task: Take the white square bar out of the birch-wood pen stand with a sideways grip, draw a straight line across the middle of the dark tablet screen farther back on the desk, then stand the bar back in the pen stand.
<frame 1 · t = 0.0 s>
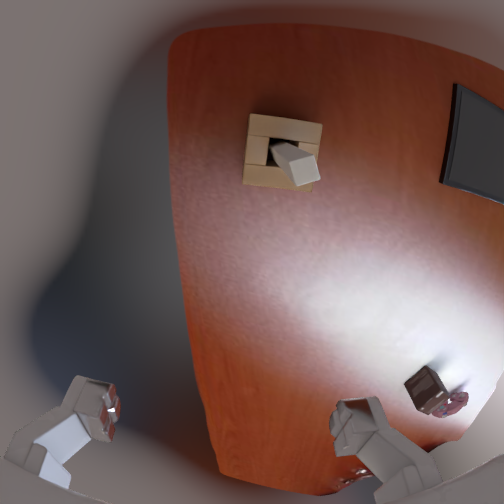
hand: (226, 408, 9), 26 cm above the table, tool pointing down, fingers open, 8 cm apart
tablet: (492, 152, 30), on the table
box: (420, 377, 49), on the table
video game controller: (446, 397, 54), on the table
pen stand: (276, 148, 31), on the table
white square bar: (286, 156, 24), in the pen stand
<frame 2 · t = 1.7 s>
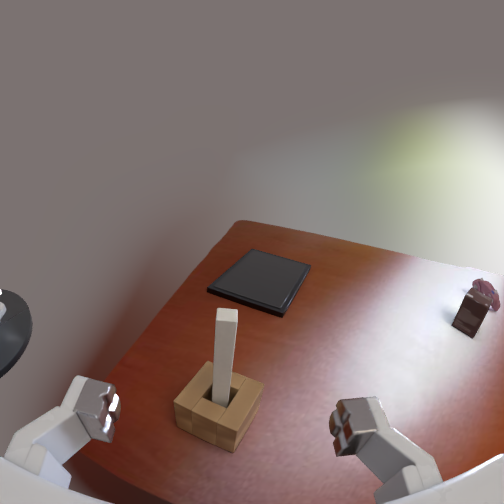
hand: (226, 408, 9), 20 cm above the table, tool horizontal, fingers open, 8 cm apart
tablet: (264, 279, 58), on the table
box: (464, 327, 48), on the table
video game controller: (482, 303, 58), on the table
pen stand: (218, 419, 29), on the table
white square bar: (221, 377, 26), in the pen stand
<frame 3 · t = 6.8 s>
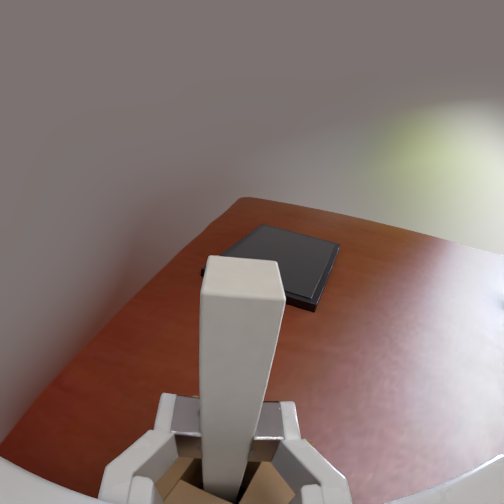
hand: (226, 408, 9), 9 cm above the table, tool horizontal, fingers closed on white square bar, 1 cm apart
tablet: (281, 260, 42), on the table
pen stand: (219, 498, 12), on the table
white square bar: (224, 447, 9), in the pen stand, touching gripper
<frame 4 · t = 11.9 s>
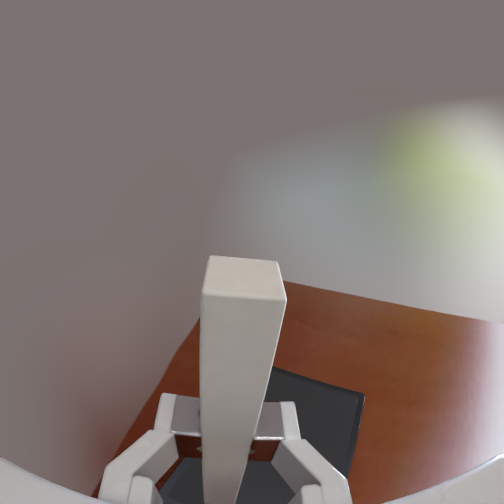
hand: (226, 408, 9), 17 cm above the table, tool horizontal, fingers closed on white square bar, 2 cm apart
tablet: (277, 451, 23), on the table
white square bar: (224, 447, 9), point 16 cm above the table, touching gripper
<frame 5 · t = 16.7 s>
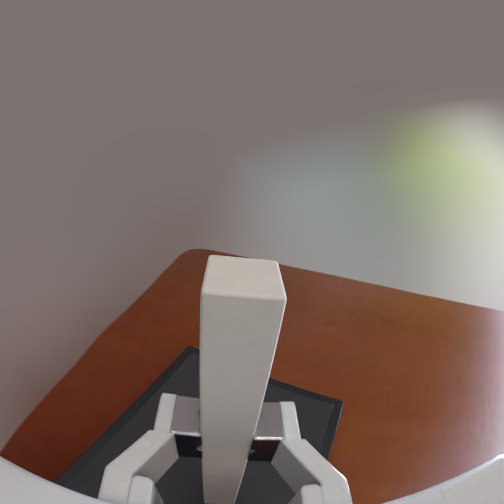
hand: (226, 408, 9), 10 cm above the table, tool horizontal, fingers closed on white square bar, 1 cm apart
tablet: (203, 476, 15), on the table
white square bar: (224, 447, 9), point 9 cm above the table, touching gripper
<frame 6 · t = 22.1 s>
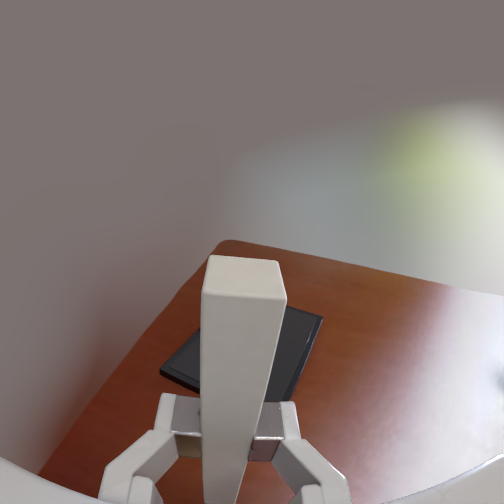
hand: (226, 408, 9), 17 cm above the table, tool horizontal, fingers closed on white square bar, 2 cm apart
tablet: (252, 347, 36), on the table
white square bar: (224, 447, 9), point 16 cm above the table, touching gripper
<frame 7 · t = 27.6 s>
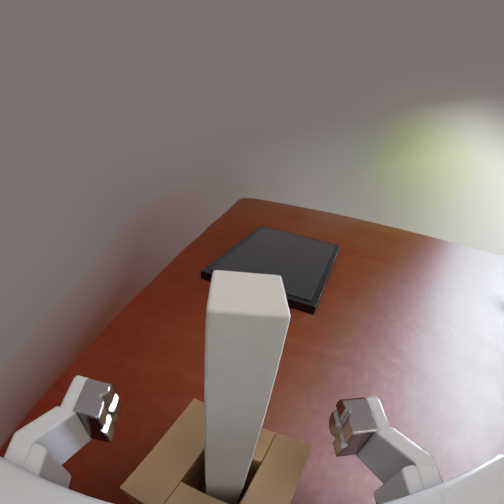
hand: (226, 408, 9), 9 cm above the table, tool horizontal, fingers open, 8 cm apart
tablet: (281, 262, 42), on the table
pen stand: (219, 499, 12), on the table
white square bar: (227, 452, 9), in the pen stand
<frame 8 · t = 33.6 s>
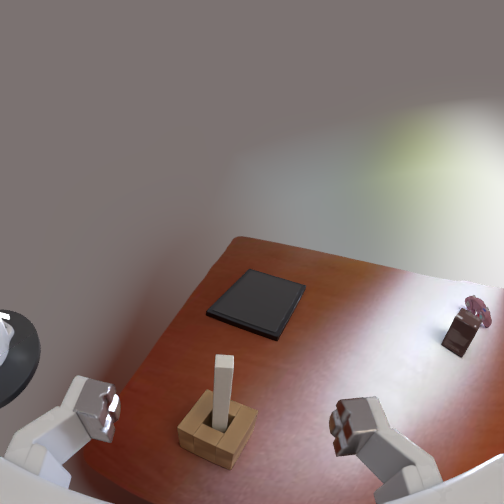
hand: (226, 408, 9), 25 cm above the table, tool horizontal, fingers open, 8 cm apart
tablet: (260, 301, 60), on the table
box: (454, 346, 50), on the table
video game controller: (474, 319, 60), on the table
pen stand: (217, 439, 31), on the table
white square bar: (220, 408, 28), in the pen stand
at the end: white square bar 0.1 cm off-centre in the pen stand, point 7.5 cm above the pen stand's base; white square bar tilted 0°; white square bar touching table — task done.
